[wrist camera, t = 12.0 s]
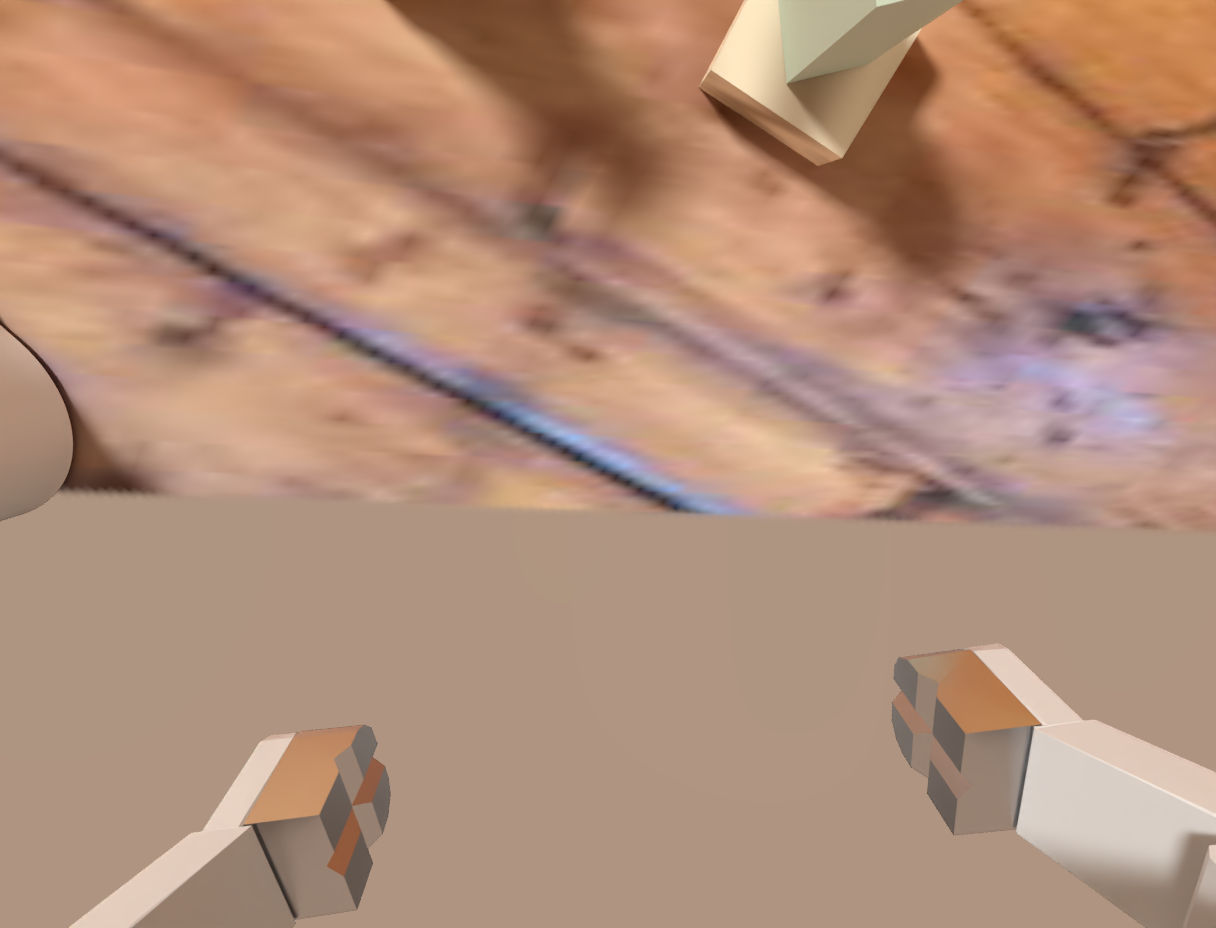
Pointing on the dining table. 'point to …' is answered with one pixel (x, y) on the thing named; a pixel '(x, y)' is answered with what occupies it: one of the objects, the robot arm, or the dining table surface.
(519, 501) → the dining table surface
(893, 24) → the pillar
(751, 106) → the base block
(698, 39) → the dining table surface
